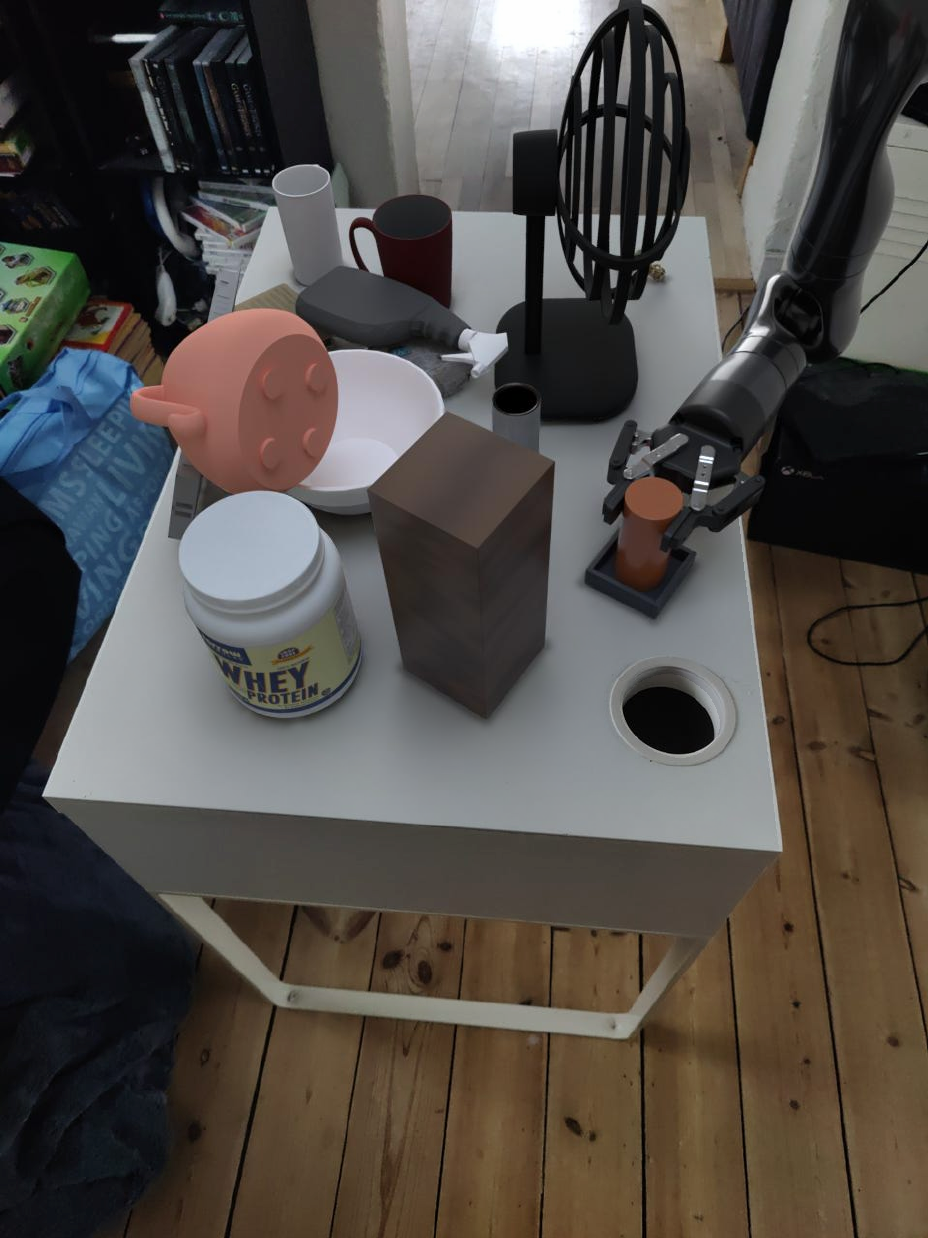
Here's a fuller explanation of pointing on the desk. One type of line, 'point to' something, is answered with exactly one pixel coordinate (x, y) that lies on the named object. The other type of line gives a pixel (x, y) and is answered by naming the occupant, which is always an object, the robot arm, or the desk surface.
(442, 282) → the mug
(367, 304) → the spray bottle
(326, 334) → the ink box
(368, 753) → the desk surface
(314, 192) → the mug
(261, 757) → the desk surface
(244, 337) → the teapot
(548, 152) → the desk fan
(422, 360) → the stone
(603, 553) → the tray
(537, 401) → the gray hollow tube
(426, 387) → the bowl
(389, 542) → the plant stand
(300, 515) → the supplement tub
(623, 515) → the copper brown cylinder
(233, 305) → the building model
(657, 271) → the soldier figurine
